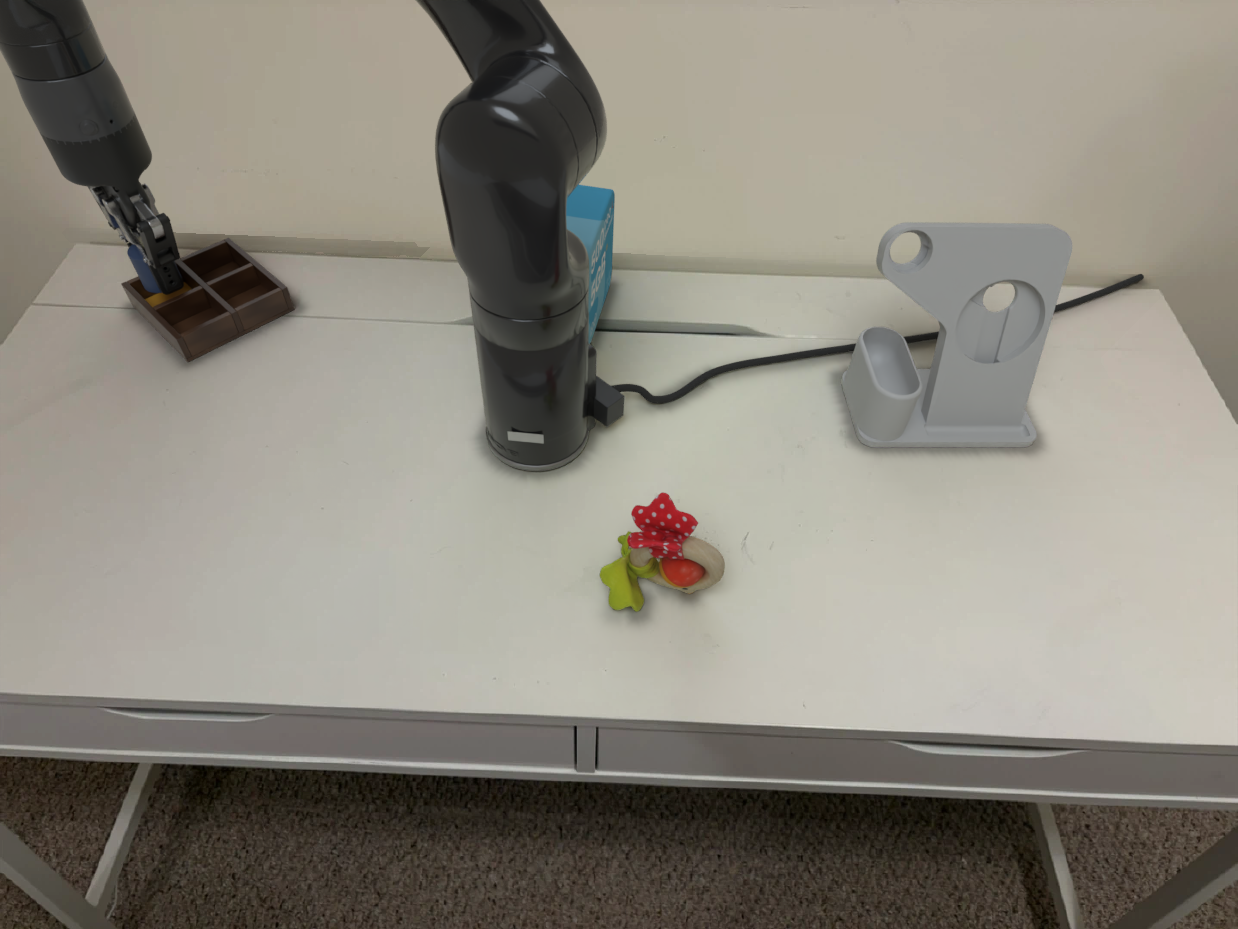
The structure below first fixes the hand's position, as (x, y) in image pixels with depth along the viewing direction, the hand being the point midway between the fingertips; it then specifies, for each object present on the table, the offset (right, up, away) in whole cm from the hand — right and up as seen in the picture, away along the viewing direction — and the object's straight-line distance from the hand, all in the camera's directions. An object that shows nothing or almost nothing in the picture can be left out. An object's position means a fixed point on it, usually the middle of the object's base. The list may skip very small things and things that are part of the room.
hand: (163, 279), depth 83 cm
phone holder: (+77, -13, -3) cm, 78 cm away
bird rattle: (+49, -29, -17) cm, 59 cm away
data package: (+42, -2, +5) cm, 42 cm away
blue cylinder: (0, 0, 0) cm, 0 cm away
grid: (+4, -2, +3) cm, 5 cm away
